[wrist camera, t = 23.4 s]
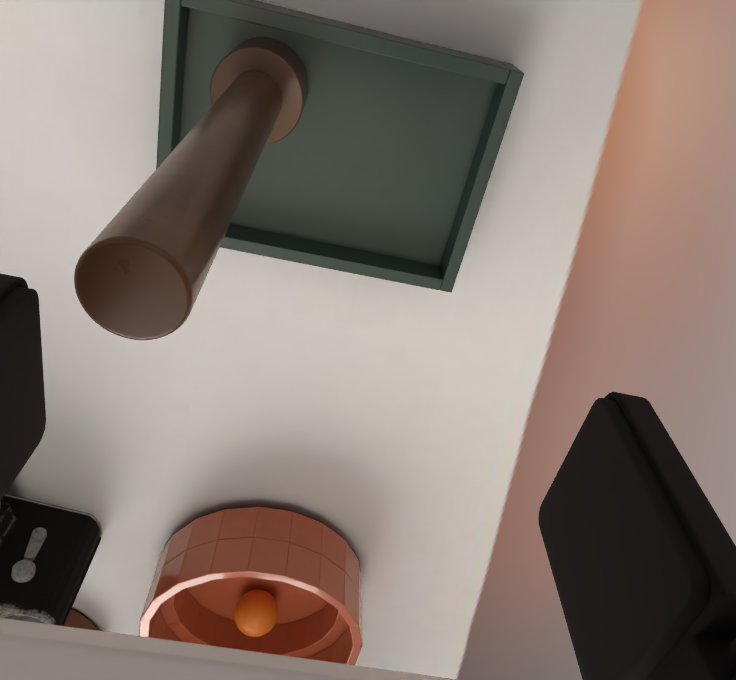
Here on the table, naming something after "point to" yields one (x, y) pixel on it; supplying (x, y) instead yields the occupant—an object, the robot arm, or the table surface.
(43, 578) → the camera
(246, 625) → the ball
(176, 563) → the copper shallow cylinder
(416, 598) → the table surface
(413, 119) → the spoon tray
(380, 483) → the table surface
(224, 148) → the brown wooden rod
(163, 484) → the table surface
